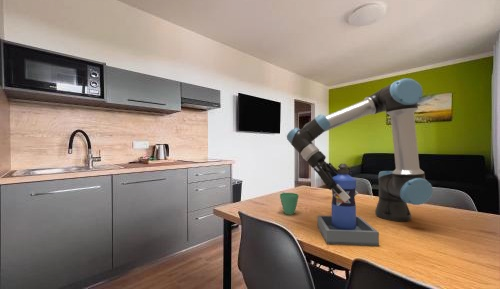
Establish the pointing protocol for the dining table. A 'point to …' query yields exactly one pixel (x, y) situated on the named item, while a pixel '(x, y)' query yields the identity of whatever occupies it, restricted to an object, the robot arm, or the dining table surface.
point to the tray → (348, 233)
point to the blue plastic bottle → (343, 210)
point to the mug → (289, 202)
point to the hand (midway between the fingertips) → (351, 197)
